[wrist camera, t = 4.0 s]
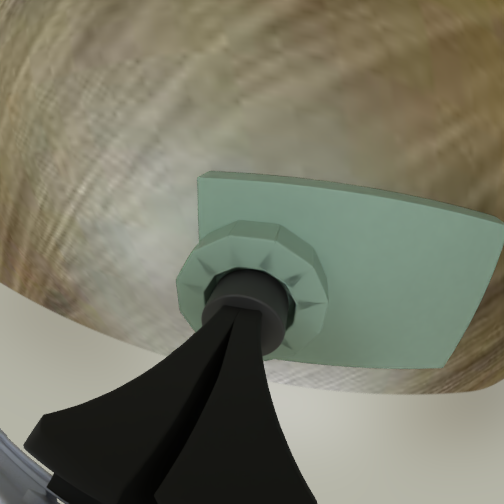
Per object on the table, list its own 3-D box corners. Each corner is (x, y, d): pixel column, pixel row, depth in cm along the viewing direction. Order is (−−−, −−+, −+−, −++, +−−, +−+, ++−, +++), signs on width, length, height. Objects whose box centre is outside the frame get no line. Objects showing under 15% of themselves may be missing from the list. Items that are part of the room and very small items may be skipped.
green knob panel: (494, 215, 9) (528, 241, 7) (436, 352, 13) (449, 388, 11) (199, 170, 11) (167, 186, 9) (206, 329, 16) (188, 366, 13)
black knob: (293, 273, 10) (290, 302, 8) (284, 333, 11) (279, 363, 10) (213, 263, 10) (197, 288, 9) (216, 322, 12) (203, 350, 10)
